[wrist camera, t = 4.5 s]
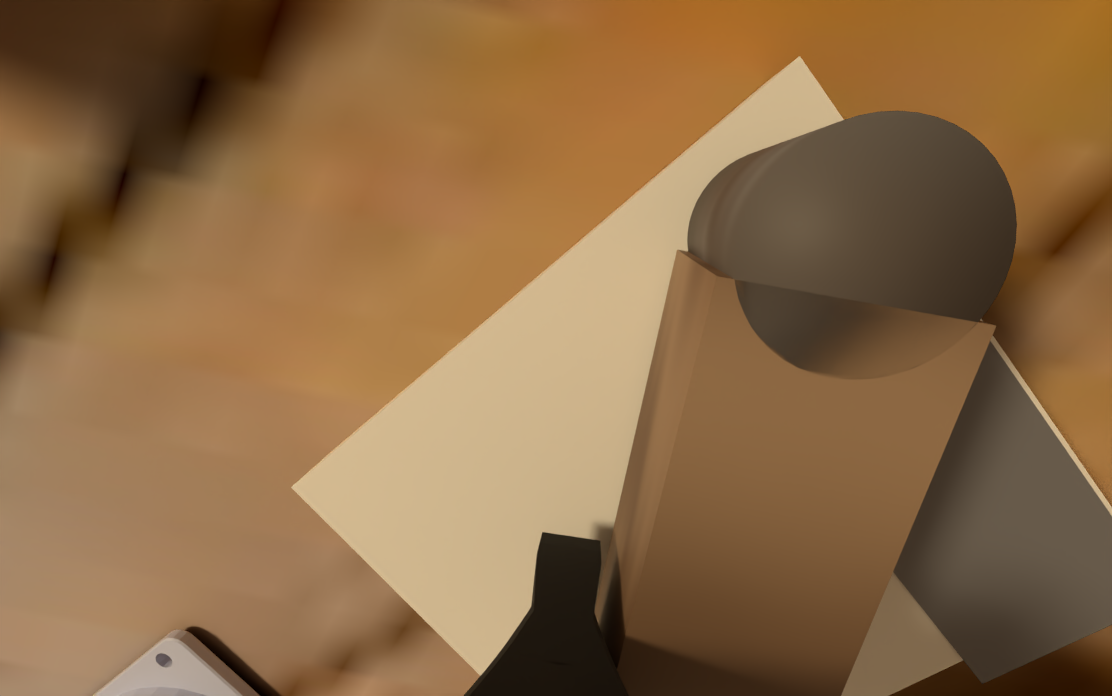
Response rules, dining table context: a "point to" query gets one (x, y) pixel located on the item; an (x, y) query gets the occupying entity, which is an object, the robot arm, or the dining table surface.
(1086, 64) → the dining table surface
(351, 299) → the dining table surface
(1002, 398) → the stool seat
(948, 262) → the stool leg
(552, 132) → the dining table surface
